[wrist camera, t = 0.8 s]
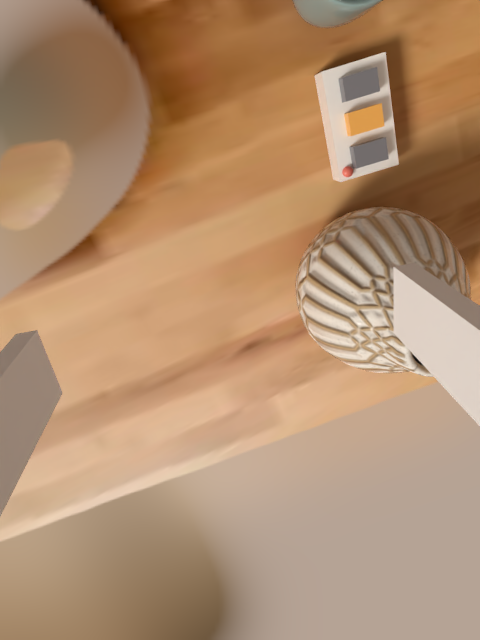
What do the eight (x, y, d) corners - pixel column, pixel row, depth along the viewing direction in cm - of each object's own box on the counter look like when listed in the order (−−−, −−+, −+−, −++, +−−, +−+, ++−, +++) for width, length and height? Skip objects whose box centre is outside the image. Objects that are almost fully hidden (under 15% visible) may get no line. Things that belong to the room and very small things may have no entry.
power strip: (313, 75, 42) (325, 69, 38) (373, 57, 41) (390, 49, 38) (332, 179, 46) (344, 183, 42) (387, 162, 45) (404, 165, 42)
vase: (447, 257, 50) (589, 327, 31) (351, 354, 54) (427, 465, 36) (353, 165, 45) (458, 185, 27) (255, 279, 49) (287, 364, 31)
